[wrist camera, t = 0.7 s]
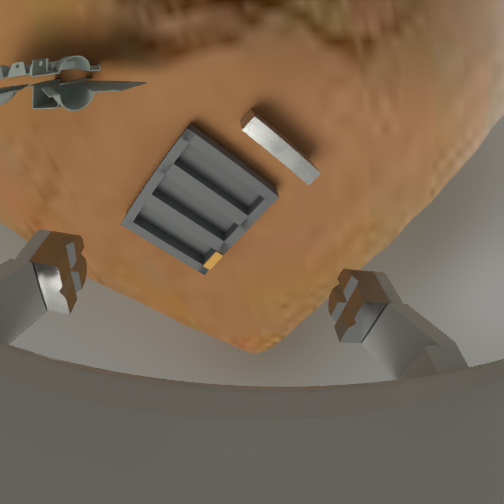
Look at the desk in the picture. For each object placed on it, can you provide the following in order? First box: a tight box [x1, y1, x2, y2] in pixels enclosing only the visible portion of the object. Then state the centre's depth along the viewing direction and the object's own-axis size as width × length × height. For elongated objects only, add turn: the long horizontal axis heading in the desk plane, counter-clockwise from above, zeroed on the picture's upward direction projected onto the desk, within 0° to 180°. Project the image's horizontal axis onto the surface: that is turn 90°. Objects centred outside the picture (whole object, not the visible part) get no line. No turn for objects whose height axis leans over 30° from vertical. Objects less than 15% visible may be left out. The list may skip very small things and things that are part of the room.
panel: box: [240, 109, 321, 185], centre depth 41 cm, size 2×12×7 cm, turn 50°
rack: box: [121, 124, 279, 275], centre depth 47 cm, size 19×17×4 cm
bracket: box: [0, 56, 146, 111], centre depth 26 cm, size 28×7×20 cm, turn 78°
